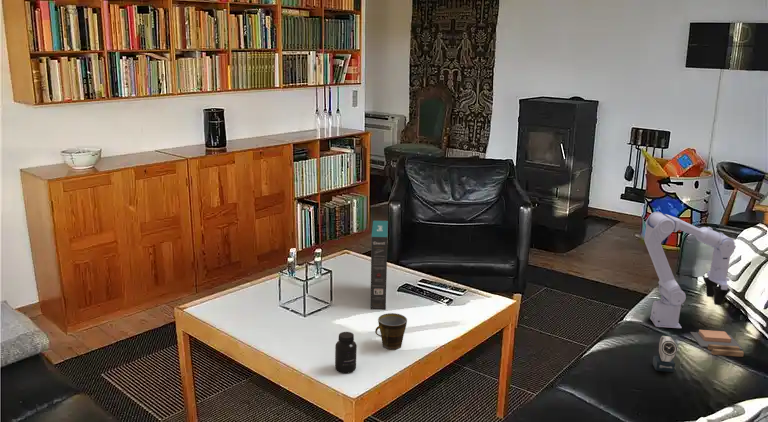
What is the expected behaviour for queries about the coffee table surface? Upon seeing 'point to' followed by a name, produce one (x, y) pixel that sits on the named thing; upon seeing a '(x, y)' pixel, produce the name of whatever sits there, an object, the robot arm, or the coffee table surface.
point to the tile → (714, 336)
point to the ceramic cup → (392, 330)
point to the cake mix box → (379, 265)
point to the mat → (705, 343)
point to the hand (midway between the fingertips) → (713, 300)
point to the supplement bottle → (345, 353)
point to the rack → (725, 350)
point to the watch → (665, 355)
